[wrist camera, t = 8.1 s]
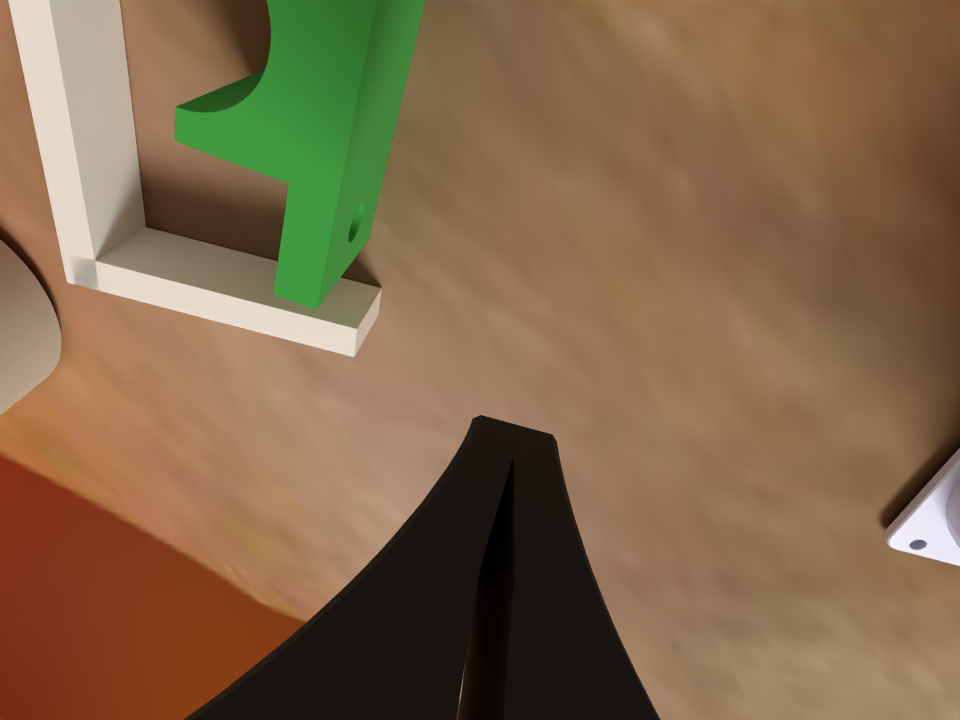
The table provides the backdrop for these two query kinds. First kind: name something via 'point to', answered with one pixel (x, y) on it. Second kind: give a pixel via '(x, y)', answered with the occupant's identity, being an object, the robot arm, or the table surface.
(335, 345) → the white u-shaped frame
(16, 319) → the travel mug
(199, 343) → the table surface
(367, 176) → the pipe clamp
